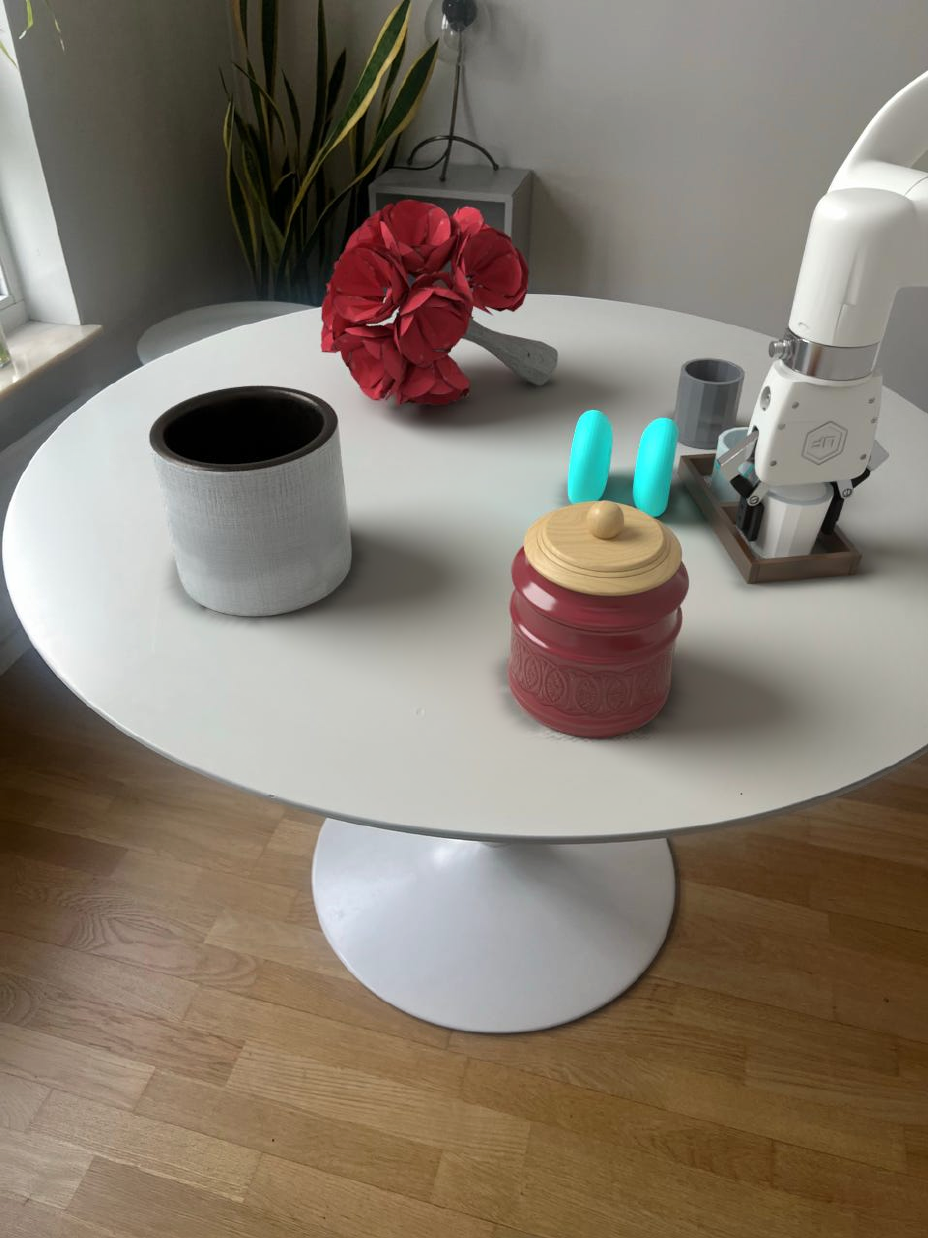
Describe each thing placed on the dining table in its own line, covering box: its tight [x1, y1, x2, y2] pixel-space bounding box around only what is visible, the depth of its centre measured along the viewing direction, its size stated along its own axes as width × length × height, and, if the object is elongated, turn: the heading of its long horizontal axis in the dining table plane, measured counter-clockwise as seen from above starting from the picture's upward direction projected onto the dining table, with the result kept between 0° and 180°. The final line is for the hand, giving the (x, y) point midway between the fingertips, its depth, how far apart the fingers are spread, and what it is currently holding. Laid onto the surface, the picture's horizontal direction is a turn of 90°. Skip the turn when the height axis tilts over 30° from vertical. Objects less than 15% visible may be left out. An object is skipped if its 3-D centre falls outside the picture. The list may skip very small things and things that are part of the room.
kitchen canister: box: [506, 500, 690, 739], centre depth 70 cm, size 13×13×18 cm
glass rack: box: [677, 452, 863, 585], centre depth 93 cm, size 11×20×3 cm, turn 8°
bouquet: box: [320, 199, 559, 409], centre depth 113 cm, size 22×24×30 cm
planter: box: [148, 385, 353, 617], centre depth 84 cm, size 16×16×16 cm
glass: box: [708, 426, 758, 503], centre depth 96 cm, size 7×7×7 cm
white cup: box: [749, 479, 834, 559], centre depth 88 cm, size 7×7×7 cm
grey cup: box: [672, 357, 746, 450], centre depth 107 cm, size 7×7×8 cm
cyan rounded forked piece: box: [567, 409, 678, 518], centre depth 95 cm, size 10×10×10 cm
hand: (784, 529), depth 89 cm, fingers closed on white cup, 6 cm apart
